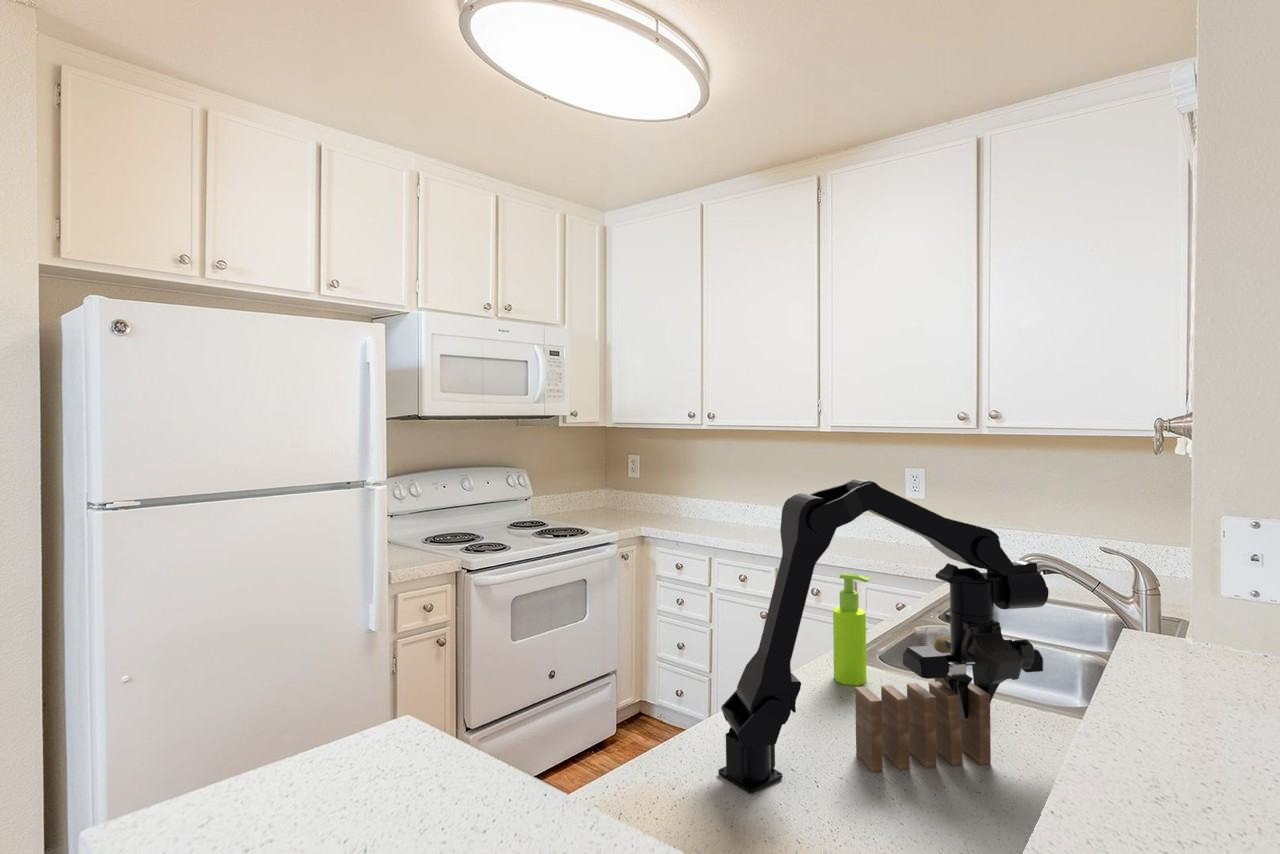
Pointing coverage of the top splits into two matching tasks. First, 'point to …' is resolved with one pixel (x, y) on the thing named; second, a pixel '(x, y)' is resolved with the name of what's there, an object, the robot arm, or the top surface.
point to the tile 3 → (922, 725)
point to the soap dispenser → (849, 635)
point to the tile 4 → (947, 723)
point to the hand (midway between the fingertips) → (972, 717)
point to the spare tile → (977, 726)
